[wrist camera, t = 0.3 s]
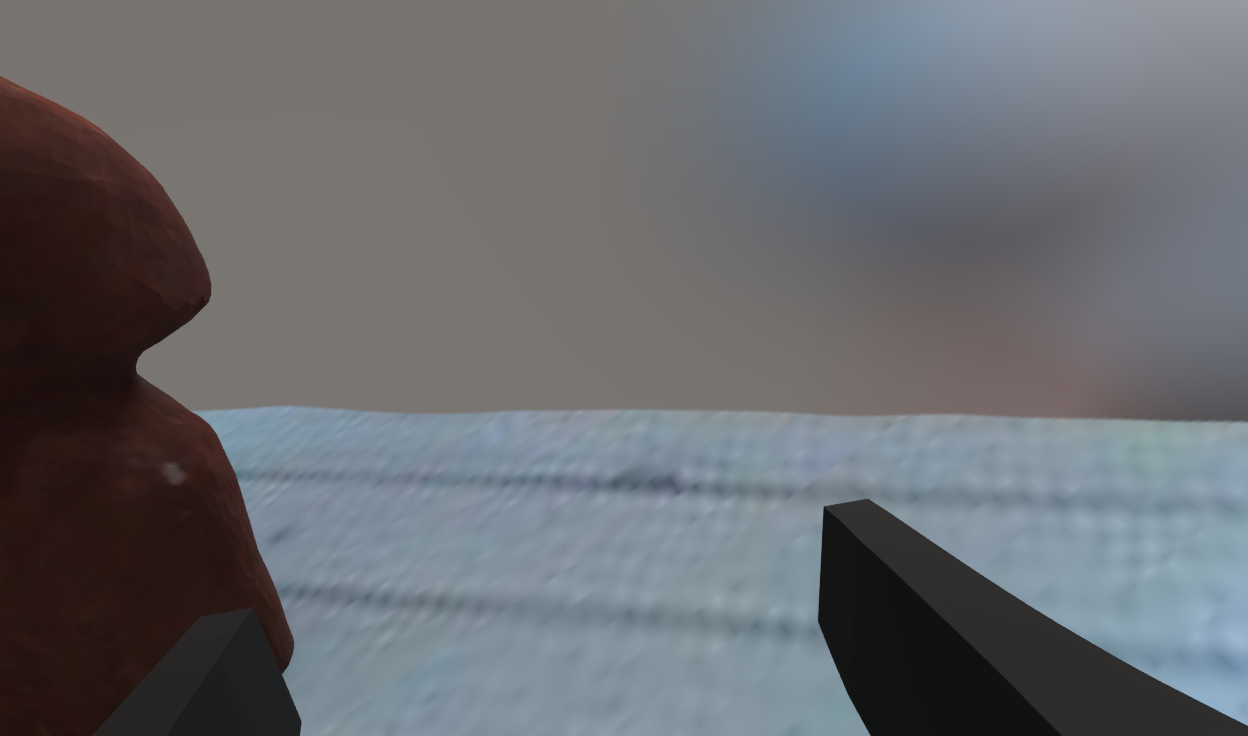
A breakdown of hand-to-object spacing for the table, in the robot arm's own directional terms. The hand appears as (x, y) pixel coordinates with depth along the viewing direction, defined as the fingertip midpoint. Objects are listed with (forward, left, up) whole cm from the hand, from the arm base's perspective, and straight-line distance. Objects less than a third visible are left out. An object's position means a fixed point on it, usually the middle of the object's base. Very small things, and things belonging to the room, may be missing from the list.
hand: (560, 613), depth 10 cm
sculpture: (+22, +23, -22) cm, 38 cm away
